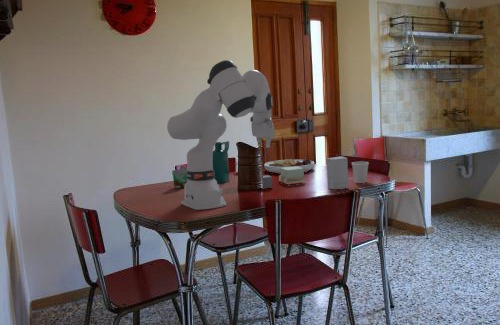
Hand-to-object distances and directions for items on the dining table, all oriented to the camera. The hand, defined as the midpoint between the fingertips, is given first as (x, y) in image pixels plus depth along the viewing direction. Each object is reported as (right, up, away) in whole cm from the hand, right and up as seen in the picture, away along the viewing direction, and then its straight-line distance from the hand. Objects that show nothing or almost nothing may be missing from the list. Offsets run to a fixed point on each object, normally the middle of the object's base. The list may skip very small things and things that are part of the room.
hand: (263, 146), depth 213 cm
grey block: (+1, -21, +3) cm, 21 cm away
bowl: (+17, -13, +52) cm, 56 cm away
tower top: (+15, -15, +13) cm, 25 cm away
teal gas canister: (-22, -18, +27) cm, 40 cm away
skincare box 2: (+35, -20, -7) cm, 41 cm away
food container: (-42, -21, +16) cm, 49 cm away
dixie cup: (+48, -18, +5) cm, 52 cm away
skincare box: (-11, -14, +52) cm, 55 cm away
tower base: (+15, -19, +14) cm, 27 cm away
